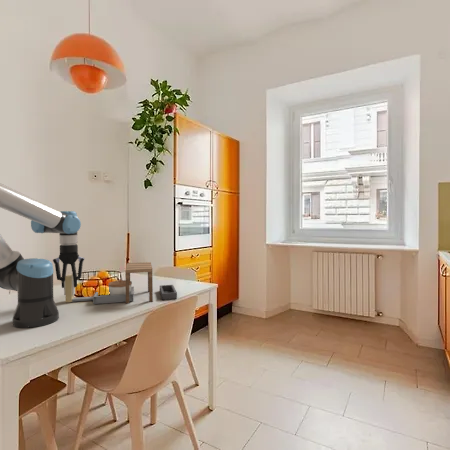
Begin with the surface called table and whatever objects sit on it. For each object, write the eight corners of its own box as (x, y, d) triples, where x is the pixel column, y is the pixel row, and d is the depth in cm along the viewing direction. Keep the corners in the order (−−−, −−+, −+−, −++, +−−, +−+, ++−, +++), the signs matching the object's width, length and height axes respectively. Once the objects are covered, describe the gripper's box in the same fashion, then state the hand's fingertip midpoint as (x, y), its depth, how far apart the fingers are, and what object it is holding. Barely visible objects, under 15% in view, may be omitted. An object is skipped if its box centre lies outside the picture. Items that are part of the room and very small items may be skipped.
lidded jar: (104, 298, 151) (104, 279, 151) (124, 294, 159) (124, 276, 159) (115, 302, 144) (115, 282, 144) (136, 298, 152) (135, 279, 151)
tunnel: (152, 301, 146) (152, 268, 145) (125, 303, 142) (125, 269, 142) (150, 291, 166) (150, 262, 165) (127, 292, 163) (127, 263, 162)
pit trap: (176, 298, 150) (176, 292, 150) (162, 299, 148) (162, 293, 148) (172, 290, 168) (172, 284, 167) (159, 291, 166) (159, 285, 166)
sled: (133, 301, 146) (133, 275, 145) (62, 306, 138) (62, 279, 137) (133, 292, 161) (133, 269, 161) (70, 296, 153) (70, 272, 153)
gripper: (88, 243, 151) (89, 291, 151) (52, 244, 146) (53, 293, 147) (85, 244, 143) (86, 295, 144) (47, 245, 139) (48, 297, 140)
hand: (69, 294), depth 146 cm, fingers closed on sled, 3 cm apart
